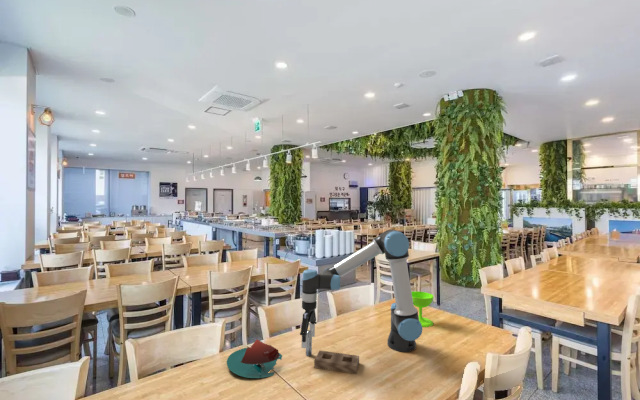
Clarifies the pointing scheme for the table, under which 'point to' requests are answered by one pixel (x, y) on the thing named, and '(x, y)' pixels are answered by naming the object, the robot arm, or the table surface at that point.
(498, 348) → the table surface
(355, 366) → the socket block
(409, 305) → the robot arm
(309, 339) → the peg
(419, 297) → the wineglass
